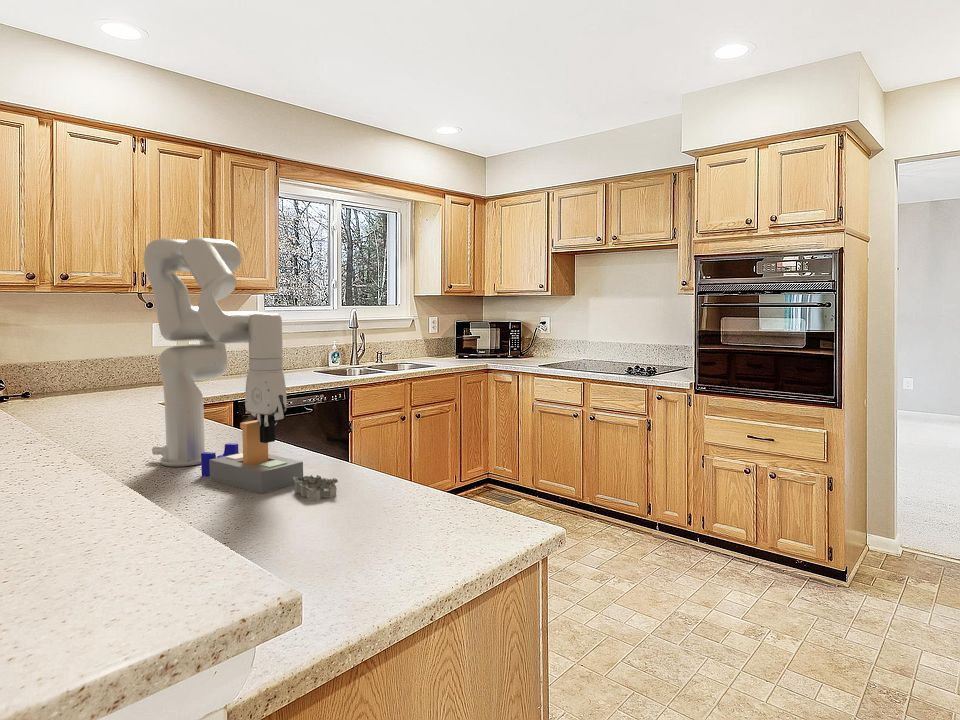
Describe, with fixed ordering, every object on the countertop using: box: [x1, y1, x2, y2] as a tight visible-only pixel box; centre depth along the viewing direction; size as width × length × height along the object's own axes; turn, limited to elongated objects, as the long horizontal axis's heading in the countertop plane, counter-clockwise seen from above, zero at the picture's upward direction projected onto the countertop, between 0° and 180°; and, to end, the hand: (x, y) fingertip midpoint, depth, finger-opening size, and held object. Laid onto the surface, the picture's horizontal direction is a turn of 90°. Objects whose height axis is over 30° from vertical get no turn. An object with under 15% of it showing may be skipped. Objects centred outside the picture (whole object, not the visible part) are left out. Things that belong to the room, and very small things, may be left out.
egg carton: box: [293, 474, 339, 501], centre depth 144 cm, size 11×8×4 cm
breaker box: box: [209, 451, 304, 495], centre depth 154 cm, size 20×12×5 cm, turn 56°
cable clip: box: [200, 442, 239, 478], centre depth 163 cm, size 12×4×6 cm, turn 170°
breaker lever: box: [239, 419, 269, 465], centre depth 153 cm, size 2×6×12 cm, turn 146°
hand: (267, 441), depth 151 cm, fingers closed
